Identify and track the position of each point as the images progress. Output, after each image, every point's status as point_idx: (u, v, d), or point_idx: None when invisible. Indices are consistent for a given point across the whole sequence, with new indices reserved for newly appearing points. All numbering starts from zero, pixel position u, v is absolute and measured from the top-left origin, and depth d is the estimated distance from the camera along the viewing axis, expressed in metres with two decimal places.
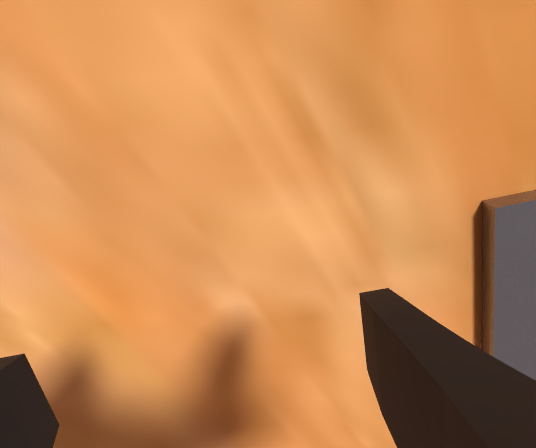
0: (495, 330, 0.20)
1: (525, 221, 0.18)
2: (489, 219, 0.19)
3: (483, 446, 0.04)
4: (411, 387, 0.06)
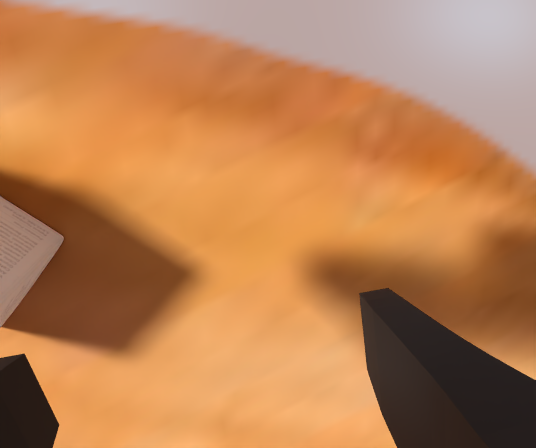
0: None
1: None
2: None
3: (483, 446, 0.04)
4: (411, 387, 0.06)
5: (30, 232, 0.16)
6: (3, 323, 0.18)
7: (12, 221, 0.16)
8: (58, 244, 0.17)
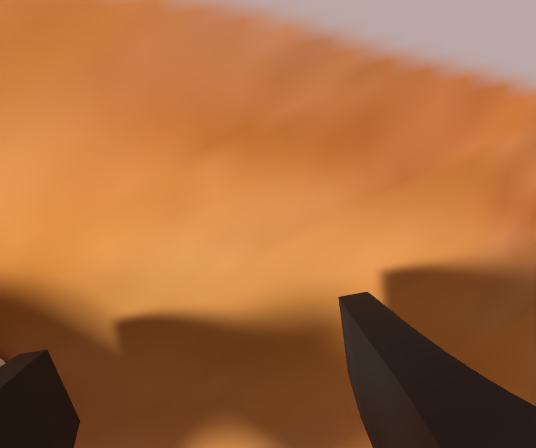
0: None
1: None
2: None
3: None
4: (383, 392, 0.06)
5: None
6: None
7: None
8: None
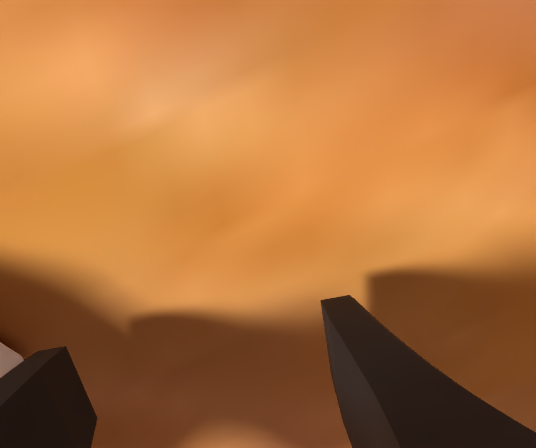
0: None
1: None
2: None
3: None
4: (359, 397, 0.06)
5: None
6: None
7: None
8: None
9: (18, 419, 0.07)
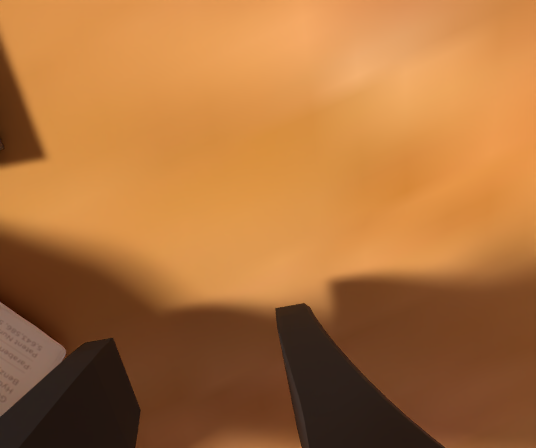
0: None
1: None
2: None
3: None
4: (298, 407, 0.06)
5: (9, 353, 0.09)
6: None
7: None
8: None
9: (77, 409, 0.07)
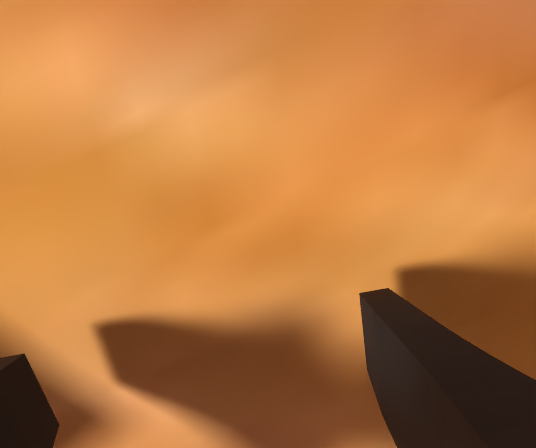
0: None
1: None
2: None
3: (483, 446, 0.04)
4: (411, 387, 0.06)
5: None
6: None
7: None
8: None
9: None
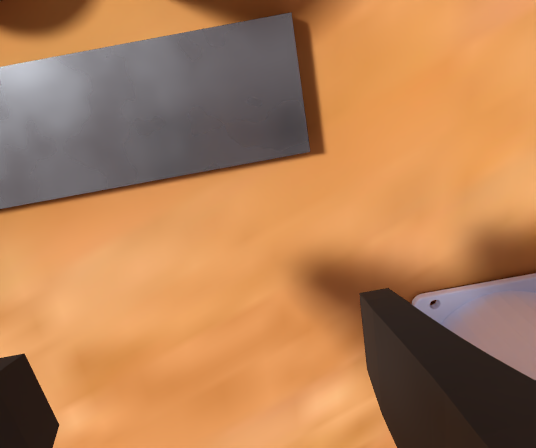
0: (51, 197, 0.16)
1: None
2: None
3: (483, 446, 0.04)
4: (411, 387, 0.06)
5: None
6: None
7: None
8: None
9: None
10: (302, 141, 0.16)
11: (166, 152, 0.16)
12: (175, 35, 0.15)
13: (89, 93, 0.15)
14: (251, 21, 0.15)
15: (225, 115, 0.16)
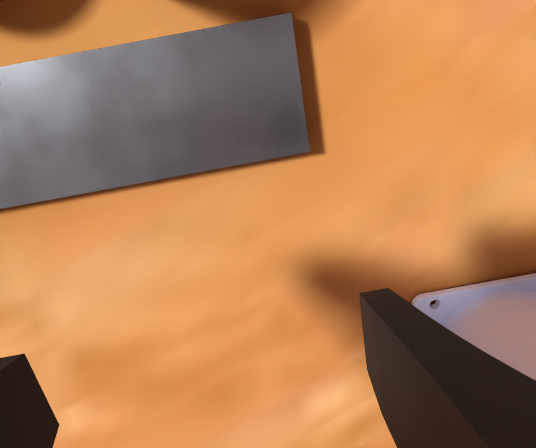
0: (51, 197, 0.16)
1: None
2: None
3: (483, 446, 0.04)
4: (411, 387, 0.06)
5: None
6: None
7: None
8: None
9: None
10: (302, 141, 0.16)
11: (166, 152, 0.16)
12: (175, 35, 0.15)
13: (89, 93, 0.15)
14: (251, 21, 0.15)
15: (225, 115, 0.16)
